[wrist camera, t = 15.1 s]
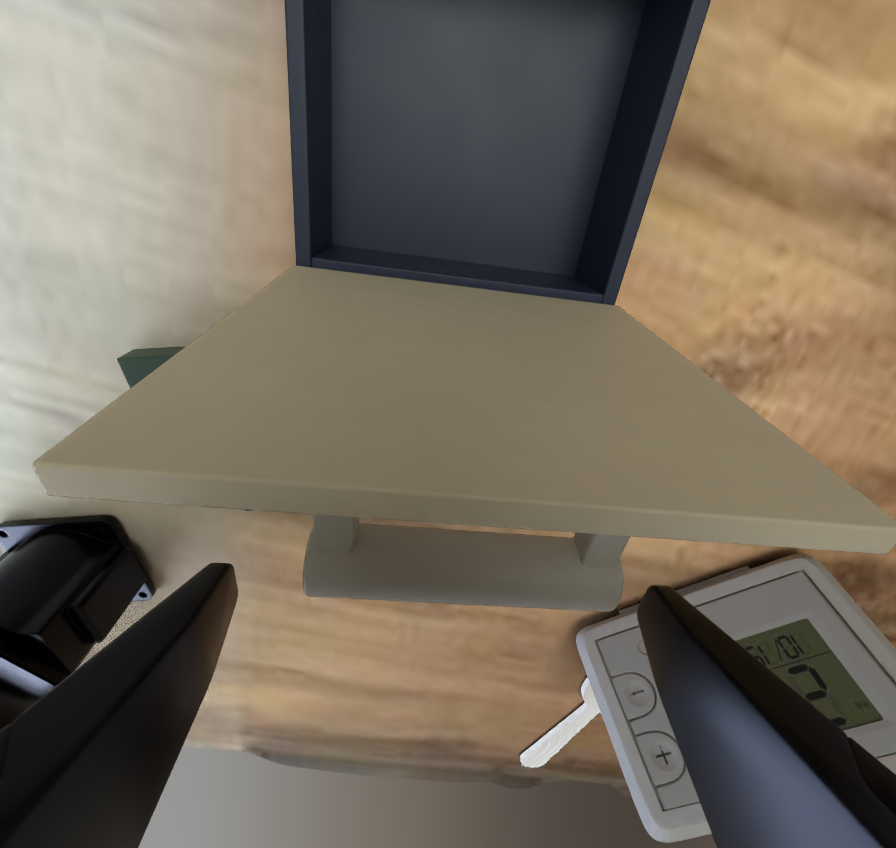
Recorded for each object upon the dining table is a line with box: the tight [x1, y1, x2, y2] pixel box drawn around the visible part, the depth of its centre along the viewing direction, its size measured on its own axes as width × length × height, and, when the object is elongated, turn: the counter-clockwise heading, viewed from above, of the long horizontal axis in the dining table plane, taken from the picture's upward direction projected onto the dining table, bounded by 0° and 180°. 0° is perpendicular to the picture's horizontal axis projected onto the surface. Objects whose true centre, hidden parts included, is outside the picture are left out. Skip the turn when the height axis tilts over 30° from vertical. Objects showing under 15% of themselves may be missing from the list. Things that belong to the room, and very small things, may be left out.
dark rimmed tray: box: [285, 0, 711, 305], centre depth 14 cm, size 10×11×4 cm
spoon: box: [520, 677, 601, 768], centre depth 35 cm, size 5×18×1 cm, turn 154°
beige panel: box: [33, 265, 896, 612], centre depth 11 cm, size 10×11×4 cm
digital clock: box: [576, 554, 896, 843], centre depth 25 cm, size 16×9×11 cm, turn 106°
